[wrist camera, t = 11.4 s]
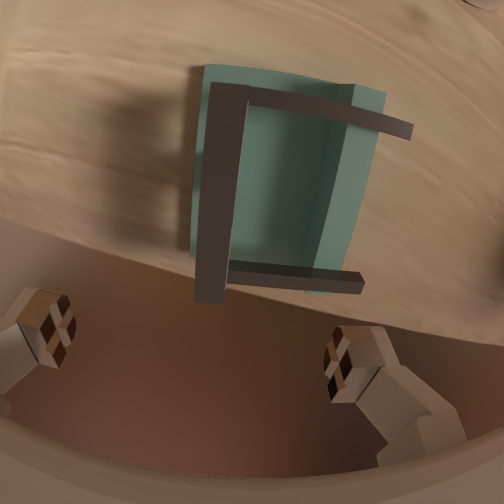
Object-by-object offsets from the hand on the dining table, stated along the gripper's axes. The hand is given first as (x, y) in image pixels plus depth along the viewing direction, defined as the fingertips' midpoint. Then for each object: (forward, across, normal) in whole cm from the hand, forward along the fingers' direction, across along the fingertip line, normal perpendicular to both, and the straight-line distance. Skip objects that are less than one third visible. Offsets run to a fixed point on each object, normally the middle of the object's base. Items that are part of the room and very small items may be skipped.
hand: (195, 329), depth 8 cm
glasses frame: (+14, -5, +1) cm, 15 cm away
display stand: (+19, -4, +1) cm, 19 cm away
